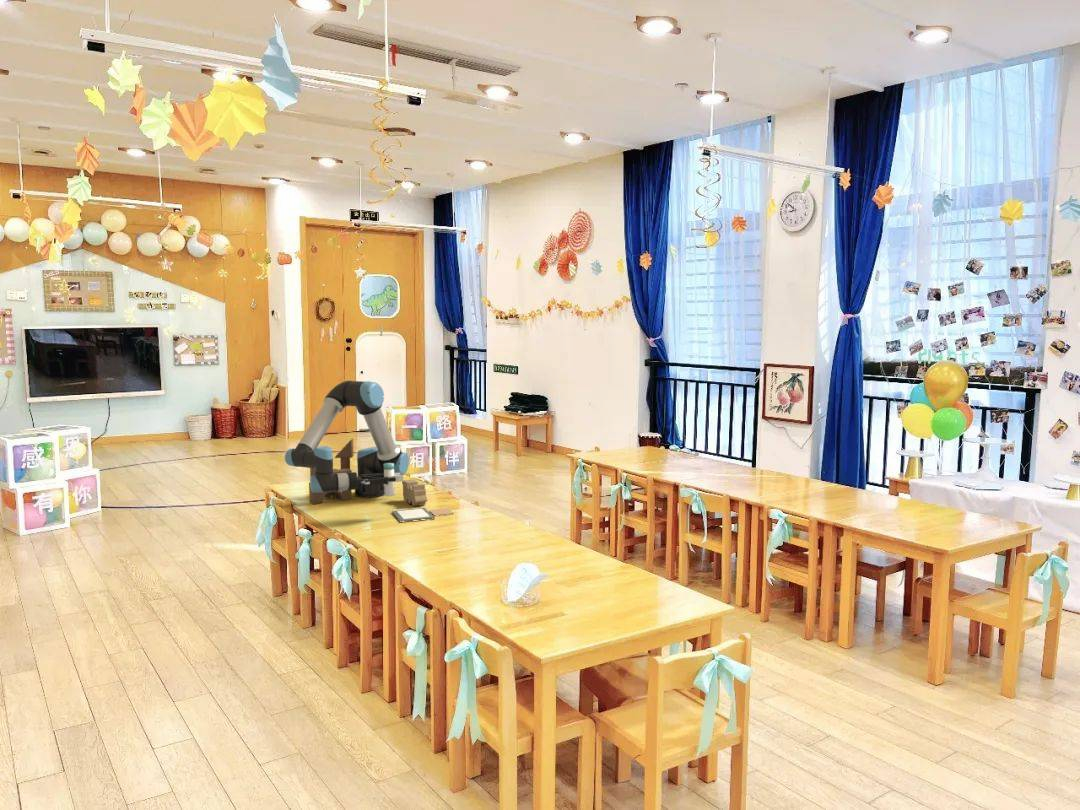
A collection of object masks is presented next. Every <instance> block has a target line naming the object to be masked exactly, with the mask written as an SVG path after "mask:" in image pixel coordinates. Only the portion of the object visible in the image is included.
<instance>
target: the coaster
mask: <svg viewBox="0 0 1080 810" xmlns="http://www.w3.org/2000/svg"><path fill="white" fill-rule="evenodd" d="M428 511H430V512H431V513H432V514H433V515H434V517H437V516H436V515H444V516H448V515H447V514H454V515H455V512H454V511H452V510H451V509H450V508H449V507H447V508H440V509H429V510H428Z"/></svg>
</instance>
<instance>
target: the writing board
mask: <svg viewBox="0 0 1080 810" xmlns="http://www.w3.org/2000/svg"><path fill="white" fill-rule="evenodd" d="M391 513H392V514H393V516H394V517H395V516H396V517H397V518H398V519H399V520H400V521H401V522H402V521H413V520H421V519H432V518H435V517H436V516H433V515H432V514H431V513H430V512H429V510H428V509H427V508H426V507H418V508H409V509H398V510H392V511H391ZM396 517H395V518H396ZM397 518H396V519H397ZM398 519H397V520H398ZM435 519H436V518H435ZM399 520H398V521H399ZM432 520H433V519H432ZM400 521H399V522H400ZM401 522H400V523H401ZM413 522H414V521H413Z"/></svg>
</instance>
